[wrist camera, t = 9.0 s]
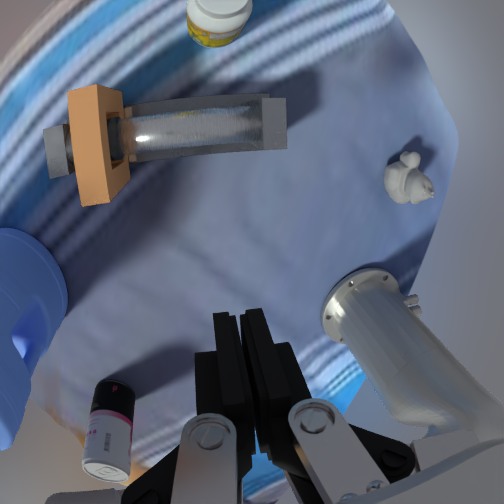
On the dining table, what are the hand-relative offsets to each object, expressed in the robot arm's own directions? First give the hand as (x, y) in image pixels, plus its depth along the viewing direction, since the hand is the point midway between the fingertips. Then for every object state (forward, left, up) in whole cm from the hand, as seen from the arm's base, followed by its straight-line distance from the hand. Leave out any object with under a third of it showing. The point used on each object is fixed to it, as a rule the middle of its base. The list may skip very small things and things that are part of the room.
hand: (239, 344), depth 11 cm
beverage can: (+18, +30, -24) cm, 42 cm away
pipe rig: (+3, -6, -24) cm, 25 cm away
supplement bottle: (-2, -17, -24) cm, 30 cm away
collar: (+9, -6, -24) cm, 26 cm away
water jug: (+26, +9, -24) cm, 37 cm away
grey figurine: (-23, 0, -24) cm, 33 cm away
